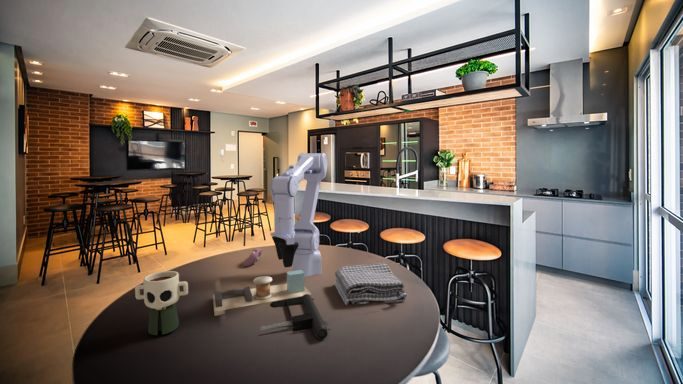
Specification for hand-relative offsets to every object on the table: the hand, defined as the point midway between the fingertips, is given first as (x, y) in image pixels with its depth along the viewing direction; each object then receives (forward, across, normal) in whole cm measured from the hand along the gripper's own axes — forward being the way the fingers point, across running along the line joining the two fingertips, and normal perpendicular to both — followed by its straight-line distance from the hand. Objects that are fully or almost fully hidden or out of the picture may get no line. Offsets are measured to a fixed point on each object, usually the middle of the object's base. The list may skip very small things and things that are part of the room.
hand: (284, 262), depth 92 cm
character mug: (+10, +9, -31) cm, 33 cm away
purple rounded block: (+10, -33, -5) cm, 35 cm away
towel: (+10, +11, +23) cm, 27 cm away
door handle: (+10, +17, -2) cm, 20 cm away
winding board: (+10, +1, -7) cm, 12 cm away
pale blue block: (+8, +2, +3) cm, 9 cm away
